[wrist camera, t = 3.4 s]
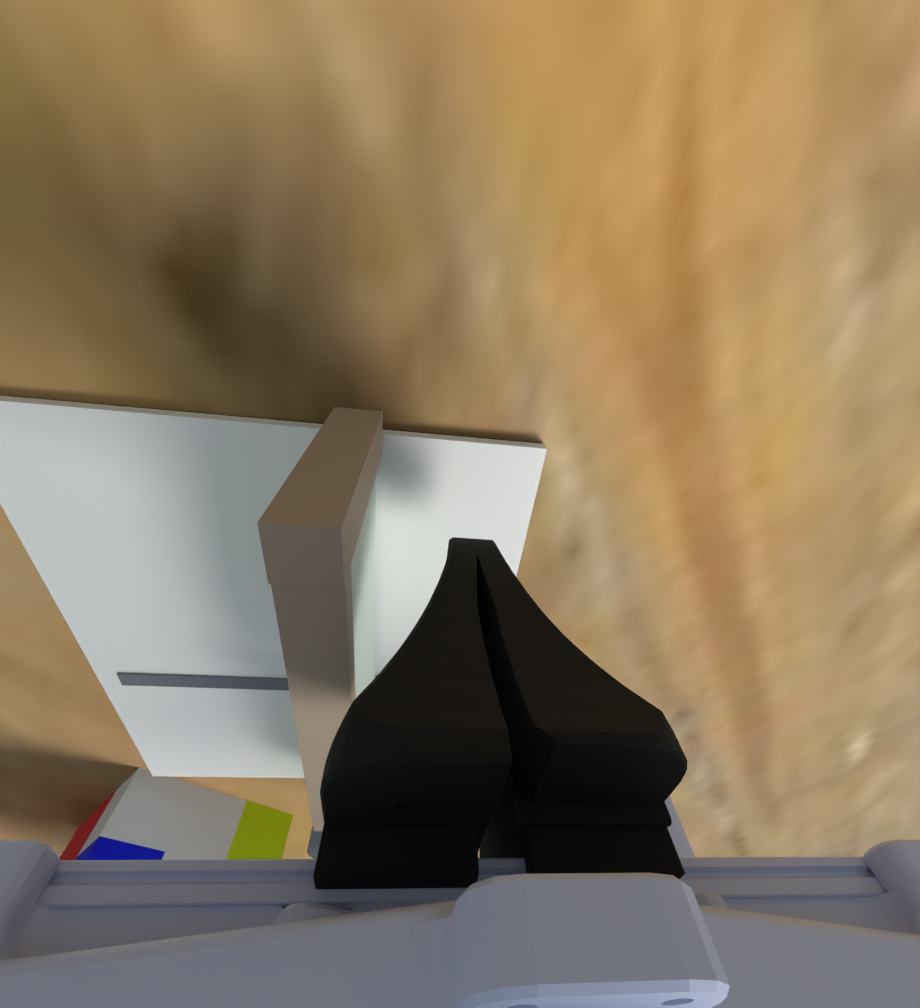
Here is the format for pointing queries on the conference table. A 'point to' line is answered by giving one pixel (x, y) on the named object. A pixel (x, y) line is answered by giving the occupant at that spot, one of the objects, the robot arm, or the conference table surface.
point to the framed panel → (326, 580)
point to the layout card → (224, 558)
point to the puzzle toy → (177, 825)
